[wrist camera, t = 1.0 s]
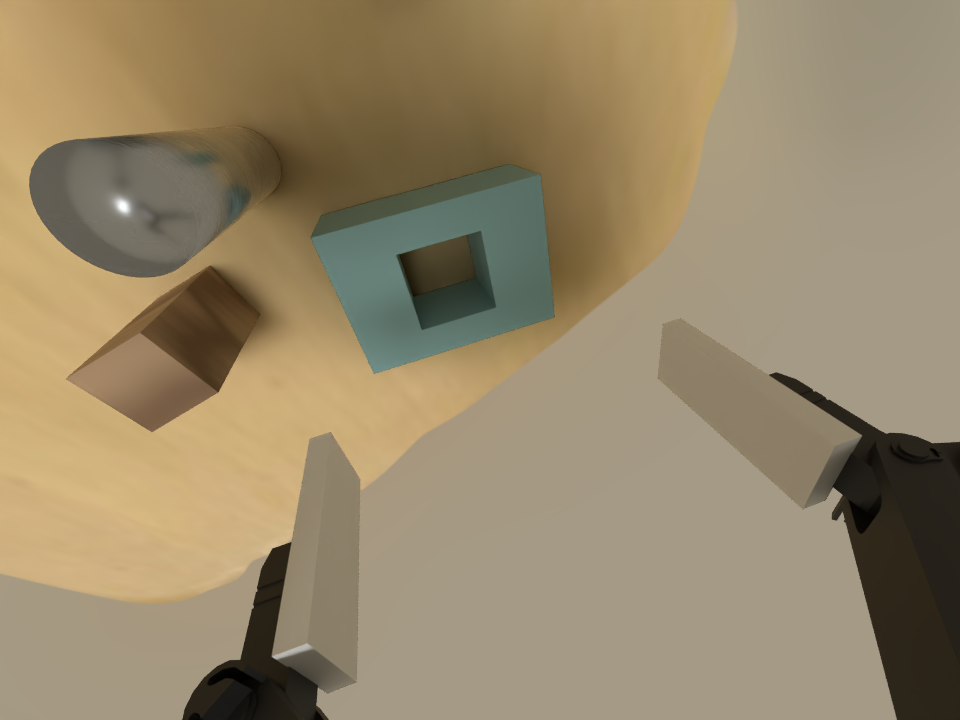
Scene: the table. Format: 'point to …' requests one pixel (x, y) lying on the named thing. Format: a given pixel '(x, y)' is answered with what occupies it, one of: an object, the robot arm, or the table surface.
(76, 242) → the round dowel
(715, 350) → the robot arm
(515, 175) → the socket block
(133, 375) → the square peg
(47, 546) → the table surface
